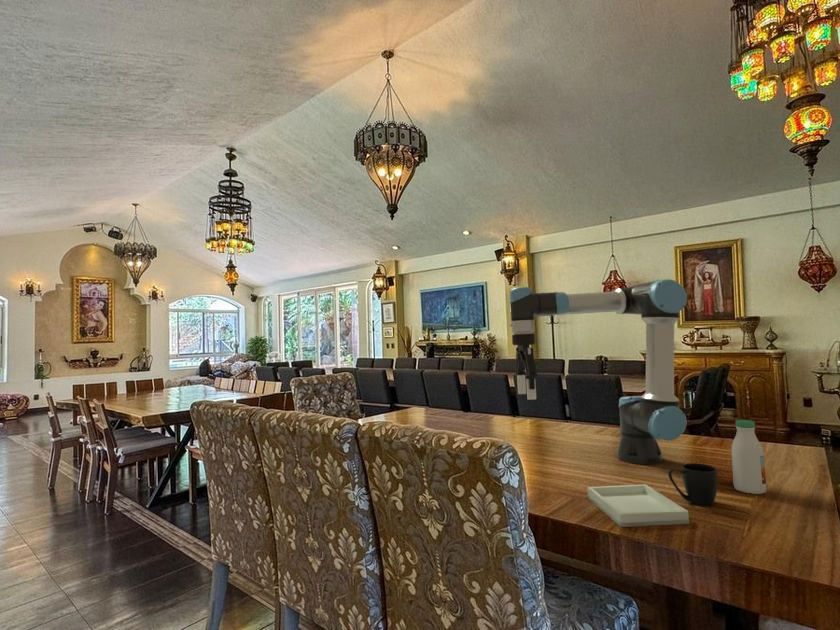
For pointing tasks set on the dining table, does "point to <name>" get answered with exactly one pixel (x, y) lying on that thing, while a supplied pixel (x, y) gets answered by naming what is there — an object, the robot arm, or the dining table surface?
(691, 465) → the mug
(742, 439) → the milk bottle
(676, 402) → the robot arm
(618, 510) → the tray
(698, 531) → the dining table surface
